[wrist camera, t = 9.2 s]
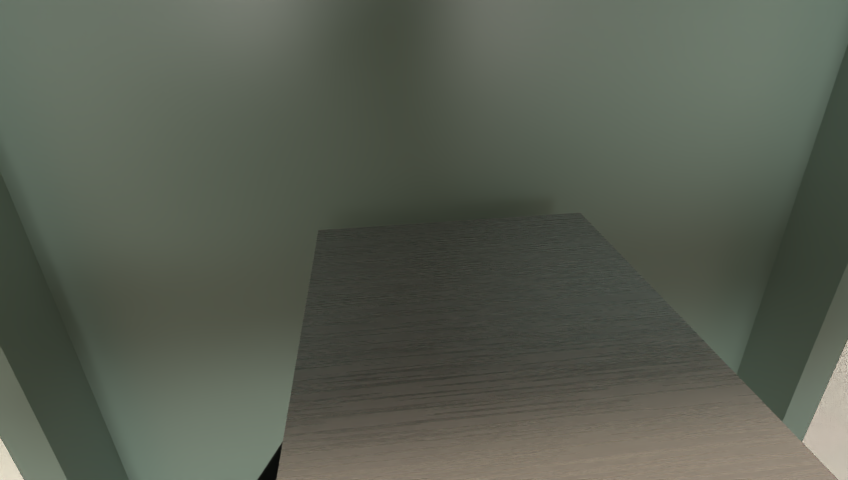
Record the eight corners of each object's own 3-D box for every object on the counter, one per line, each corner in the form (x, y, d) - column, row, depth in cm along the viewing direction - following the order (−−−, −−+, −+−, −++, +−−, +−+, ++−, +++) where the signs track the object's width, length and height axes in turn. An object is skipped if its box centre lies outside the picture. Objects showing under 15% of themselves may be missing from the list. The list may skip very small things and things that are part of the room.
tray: (901, -115, 10) (1064, -145, 7) (706, 464, 17) (759, 537, 15) (-135, -110, 8) (-325, -148, 6) (141, 532, 15) (105, 625, 13)
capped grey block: (586, 207, 10) (1010, 628, 3) (558, 407, 12) (781, 879, 6) (312, 225, 9) (207, 757, 3) (339, 430, 12) (315, 971, 5)
